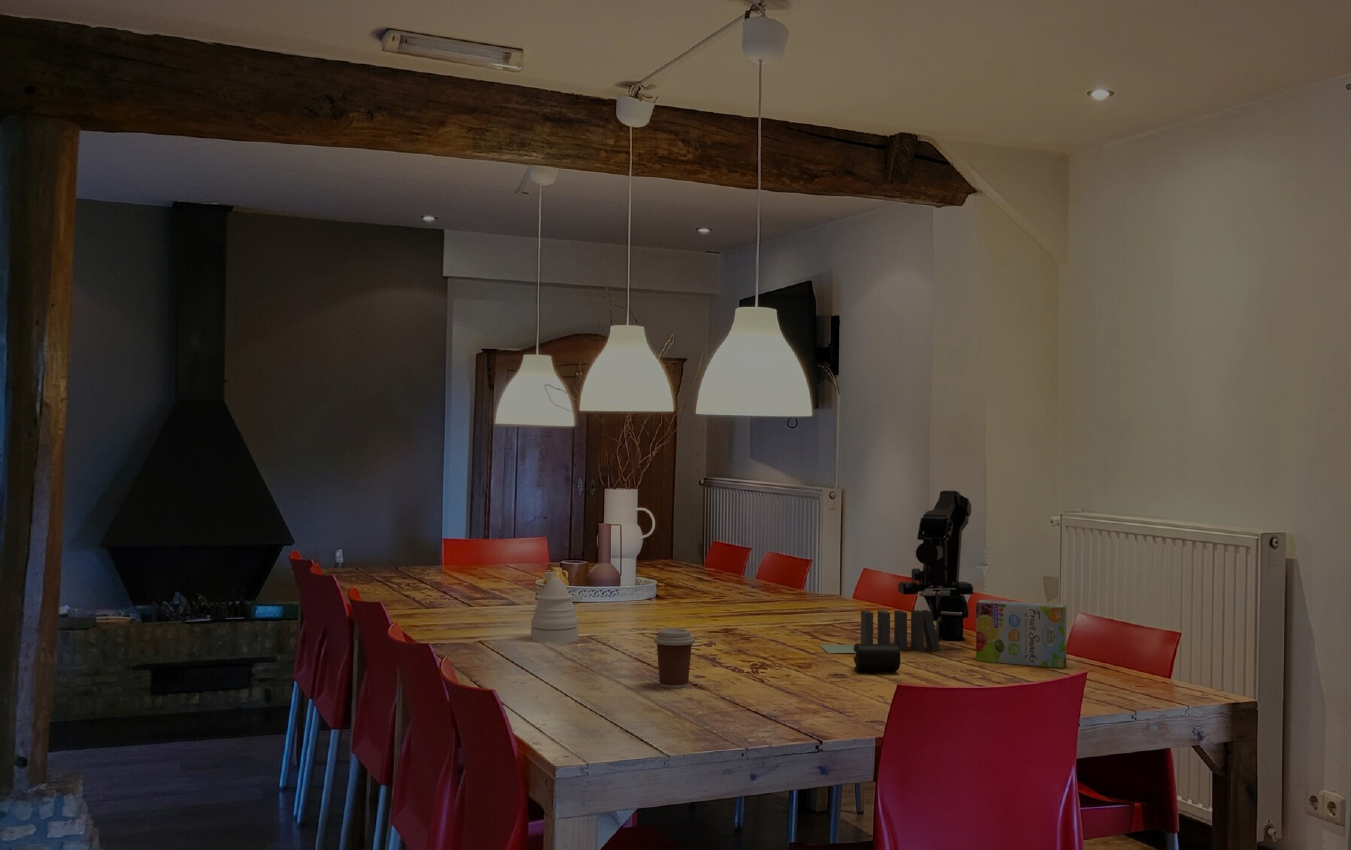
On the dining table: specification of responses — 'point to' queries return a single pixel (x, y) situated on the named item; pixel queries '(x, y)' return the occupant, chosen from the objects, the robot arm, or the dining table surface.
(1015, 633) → the snack box
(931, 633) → the domino
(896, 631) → the domino
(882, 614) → the domino
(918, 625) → the domino
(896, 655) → the end cap
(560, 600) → the honey pot
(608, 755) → the dining table surface
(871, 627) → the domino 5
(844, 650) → the mat
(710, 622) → the dining table surface
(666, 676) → the coffee cup
